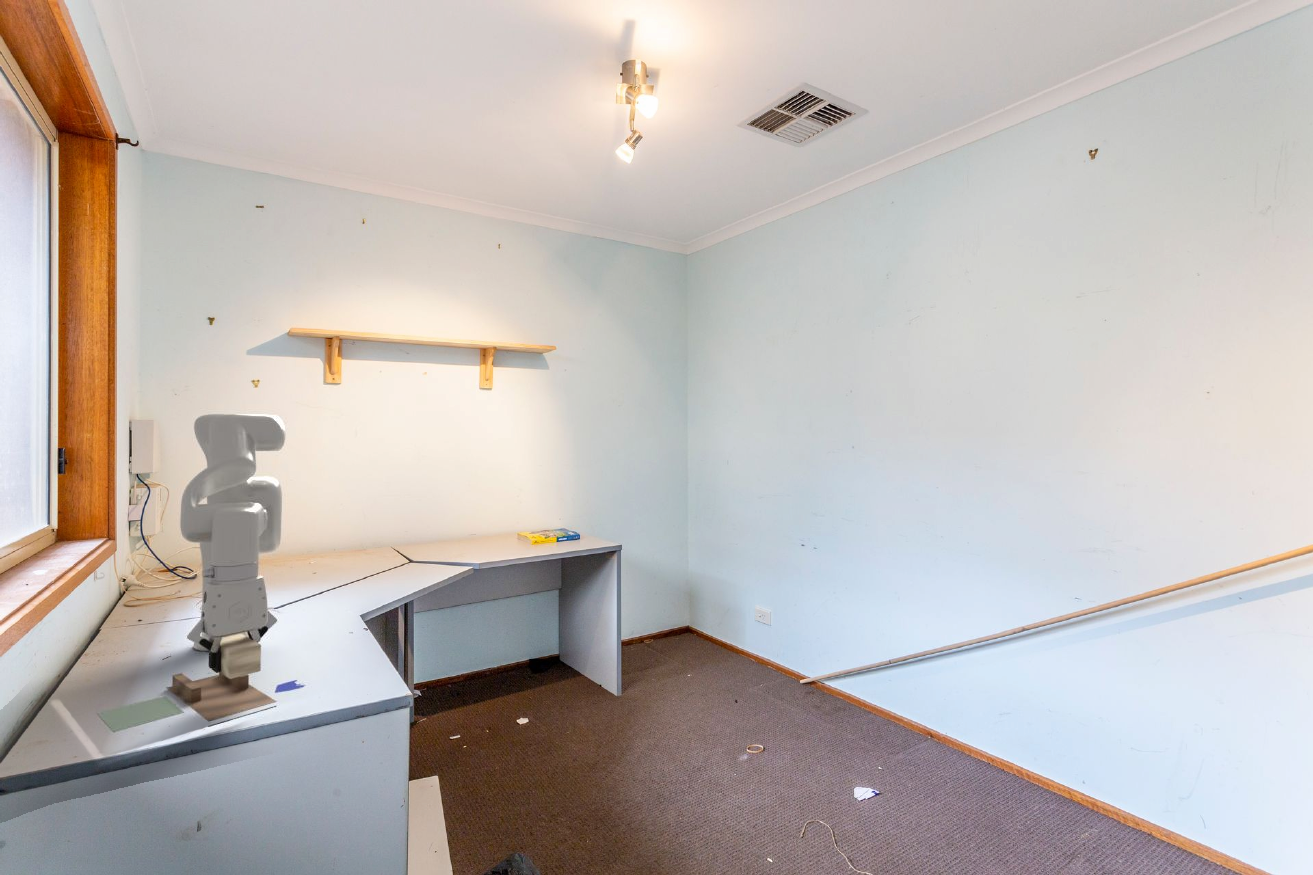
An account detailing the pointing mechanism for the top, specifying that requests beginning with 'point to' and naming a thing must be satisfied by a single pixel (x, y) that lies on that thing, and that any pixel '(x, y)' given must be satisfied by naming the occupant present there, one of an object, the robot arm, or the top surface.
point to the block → (239, 656)
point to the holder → (219, 695)
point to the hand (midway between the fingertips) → (233, 665)
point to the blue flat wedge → (288, 686)
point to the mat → (139, 713)
